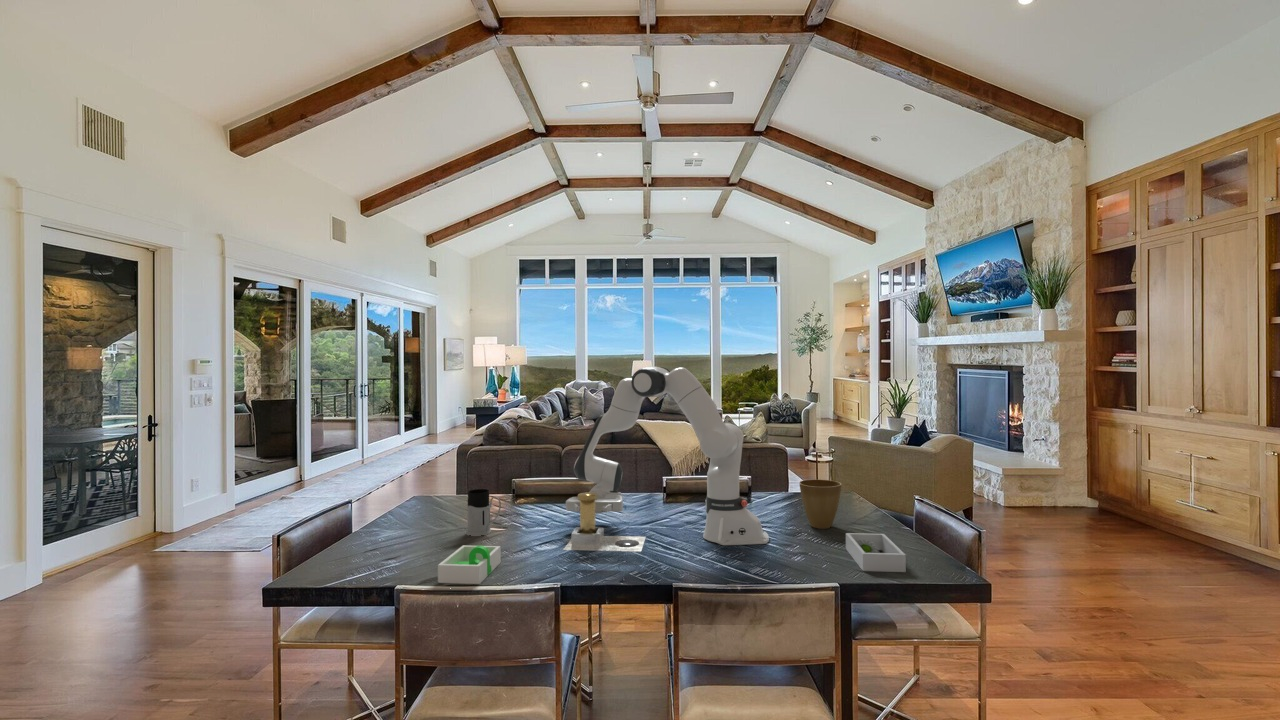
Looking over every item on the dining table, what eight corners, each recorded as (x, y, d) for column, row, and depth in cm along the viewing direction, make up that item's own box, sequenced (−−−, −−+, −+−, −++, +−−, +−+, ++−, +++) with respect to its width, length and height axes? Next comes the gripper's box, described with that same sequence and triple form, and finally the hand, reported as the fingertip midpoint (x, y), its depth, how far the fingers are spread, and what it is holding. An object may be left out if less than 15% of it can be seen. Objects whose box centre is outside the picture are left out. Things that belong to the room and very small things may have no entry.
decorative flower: (886, 545, 178) (856, 531, 192) (872, 561, 176) (843, 546, 191) (902, 563, 179) (872, 548, 193) (888, 579, 178) (859, 562, 192)
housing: (645, 541, 208) (645, 525, 208) (641, 556, 192) (641, 538, 192) (573, 539, 210) (573, 523, 210) (563, 554, 194) (563, 537, 194)
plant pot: (846, 524, 226) (845, 481, 226) (835, 534, 214) (835, 488, 214) (806, 518, 234) (806, 477, 234) (794, 528, 222) (793, 484, 222)
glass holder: (477, 528, 225) (477, 487, 225) (508, 532, 219) (508, 491, 219) (461, 534, 218) (460, 492, 218) (492, 539, 211) (492, 496, 211)
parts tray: (500, 562, 187) (500, 546, 187) (479, 584, 169) (479, 566, 169) (463, 561, 188) (462, 545, 188) (437, 582, 170) (437, 565, 170)
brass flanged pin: (599, 539, 204) (598, 492, 204) (595, 545, 198) (595, 496, 198) (580, 539, 205) (579, 492, 205) (576, 545, 199) (576, 496, 199)
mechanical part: (494, 568, 181) (493, 541, 181) (487, 575, 175) (487, 547, 175) (454, 568, 182) (454, 541, 182) (447, 575, 176) (446, 547, 176)
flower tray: (884, 549, 196) (883, 533, 196) (905, 572, 175) (905, 554, 175) (845, 548, 197) (845, 533, 197) (862, 571, 177) (862, 553, 177)
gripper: (569, 491, 222) (560, 500, 208) (625, 492, 220) (620, 500, 206) (569, 508, 222) (561, 518, 208) (625, 509, 220) (620, 519, 206)
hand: (590, 509), depth 207 cm, fingers open, 8 cm apart
